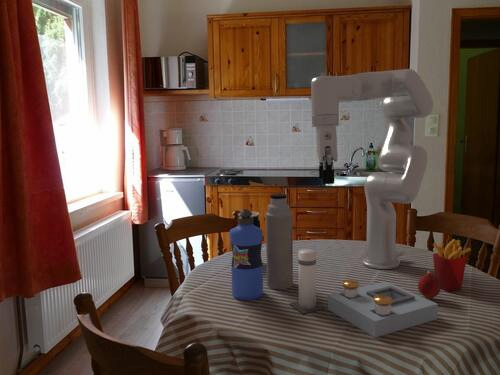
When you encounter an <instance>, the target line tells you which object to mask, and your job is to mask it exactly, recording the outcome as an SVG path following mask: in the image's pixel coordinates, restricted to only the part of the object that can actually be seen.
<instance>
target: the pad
mask: <svg viewBox="0 0 500 375" xmlns="http://www.w3.org/2000/svg"><path fill="white" fill-rule="evenodd" d="M288 304H289V306H290V307H292V308H293V309H295V310H296V311H297V312H298V313H300V314H302V315H306V314H307V315H308V314H311V313H315V312H318V311H323V310H326V307H325V306H323V305H322V304H320V303H318V302H317V301H316V307H315V308H312V309H303V308H301V307H299V300H297V301H293V302H289V303H288Z"/></svg>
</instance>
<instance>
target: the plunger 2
mask: <svg viewBox="0 0 500 375" xmlns="http://www.w3.org/2000/svg"><path fill="white" fill-rule="evenodd" d="M374 302H375V314H377V315H379V316H380V317H385V316H389V315H391V304H392V298H391V297H390V296H386V295H376V296H374Z"/></svg>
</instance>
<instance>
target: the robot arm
mask: <svg viewBox="0 0 500 375" xmlns="http://www.w3.org/2000/svg"><path fill="white" fill-rule="evenodd" d="M310 83H311V84H310V89H311V90H310V91H311V92H310V94H311V96H310V97H311V127H312V128H316V130H315V131H316V137H315V138H316V152H317V153H316V154H317V160H319V162H318V163H319V165H318V179H320V180H322V184H323V185H334V184H335V169H334V168H335V166H334V162H336V163H337V162H338V160H339V159H338V158H339V156H338V155H339V154H338V137H337V135H338V134H337V127H340V111H339V110H340V108H339V107H340V105H339V104H340V103H352V102H357V101H358V102H360V101H363V102H364V101H372V100H379V99H383V100H382V104H381V109H382V114H383V117H384V121H385V123H386V135H385V137H384V141H383V143H382V146H381V150H380V151H379V152H380V153H379V155H378V159H377V166H378V167H379V168H380V170H382V171H384V172H382V171H381V172H379V171H378V172H373V173H370V174H369V175H367V177H366V179H364V185H363V186H364V196H365V198H366V199H365V200H366V255H365V256H364V257H362V259H361V263H362V264H363V265H364V266H365V267H368V268H371V269H376V270H377V269H378V270H389V269H390V270H391V269H395V268H398V267H400V263H401V262H400V259H398V258H399V257H402V256H405V255H406V251H405V249H400V250H397V248H396V236H397V235H396V234H397V233H396V232H397V231H396V230H397V212H396V209H395V206H394V205H393V203H397V204H404V205H406V204H408V205H409V204H411V203H413V202H415V200H416V199H417V197H418V195H419V192H420V189H421V185H422V183H423V179H424V176H425V172H426V170H427V166H428V153H427V150H426V149H425V148H424V147H423V146H421V145H418V144H411V142H412V138H413V132H412V130H411V128H410V126H409V125H408V123H407V122H406V121H405V120H406V119H423V118H427V117H428V116H430V114H432V112H433V107H434V101H433V97H432V95H431V92H430V91H429V89H428V88H427V85H426V83H425V81H424V80H423V79H422V77H421V76H420V74H418V72H417V71H416V70H414V69H412V68H404V69H402V68H401V69H395V70H393V69H392V70H384V71H383V70H382V71H370V72H369V71H368V72H360V73H355V74H350V75H349V74H346V75H338V76H335V75H322V76H320V75H319V76H316V77H313V78H312V80H311V82H310Z"/></svg>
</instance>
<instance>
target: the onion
mask: <svg viewBox="0 0 500 375" xmlns="http://www.w3.org/2000/svg"><path fill="white" fill-rule="evenodd" d="M417 289H418V292H419V293H420V294H421V295H422V297H423V298H425V299H428V300H432V299H434V298H435V297H436V296H438V295H439V294H440V293H441V290H442V289H441V288H440V282H439V280H438V279H437V278H436V277H435V274H434V275H433V274H432V272H431V271H429V270H428V271H426V274H424V275H422V276H421V277H420V278H419V280H418V281H417Z"/></svg>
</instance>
